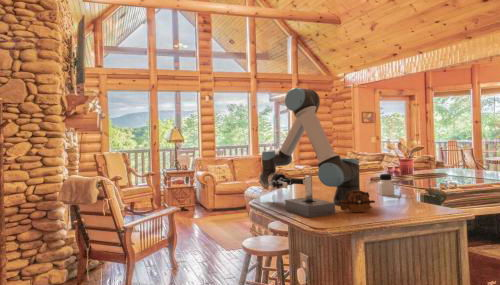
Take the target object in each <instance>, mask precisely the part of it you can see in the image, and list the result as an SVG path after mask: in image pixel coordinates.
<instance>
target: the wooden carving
mask: <svg viewBox="0 0 500 285" xmlns="http://www.w3.org/2000/svg"><path fill="white" fill-rule="evenodd" d="M346 198H347V200H341V201H339V202H338V204H340V205H339V206H340V209H341V211H351V212H354V213H364V212H366V211H369V210H371V209H372V208H373V206H372V205H371V204H374V203H375V202H376V201H375V200H373V199H372V200H370V193H369V192H367V191H366V192H365V191H363V190H361V191H359V190H354V191H351V192H347V193H346Z"/></svg>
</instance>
